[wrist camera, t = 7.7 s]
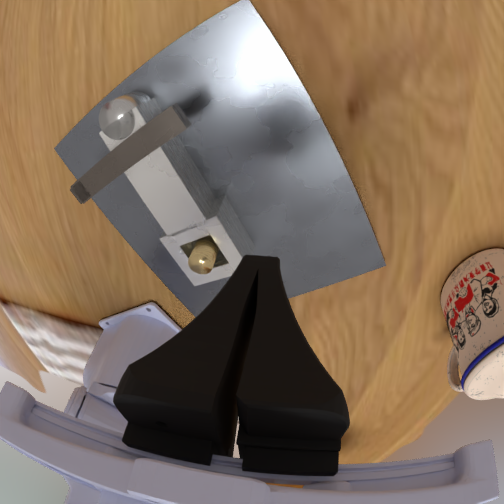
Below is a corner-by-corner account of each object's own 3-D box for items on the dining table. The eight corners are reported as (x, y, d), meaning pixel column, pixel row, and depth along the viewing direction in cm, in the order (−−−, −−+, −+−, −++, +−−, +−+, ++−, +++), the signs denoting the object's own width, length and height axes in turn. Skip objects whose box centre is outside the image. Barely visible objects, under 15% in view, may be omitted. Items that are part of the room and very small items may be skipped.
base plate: (203, 319, 30) (202, 323, 29) (58, 145, 20) (54, 148, 20) (384, 260, 23) (385, 265, 22) (248, -2, 13) (246, -3, 13)
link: (255, 246, 23) (249, 270, 21) (203, 262, 25) (194, 286, 22) (154, 75, 16) (134, 82, 14) (103, 111, 18) (81, 122, 16)
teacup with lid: (471, 231, 20) (535, 358, 11) (535, 256, 20) (590, 359, 11) (404, 332, 28) (422, 445, 18) (470, 341, 28) (494, 437, 18)
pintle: (210, 243, 23) (197, 277, 20) (197, 227, 23) (182, 259, 20) (228, 236, 23) (217, 269, 20) (216, 218, 22) (202, 250, 19)
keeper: (109, 178, 21) (81, 205, 18) (98, 163, 20) (68, 188, 17) (207, 110, 17) (187, 129, 14) (194, 91, 17) (171, 105, 14)
